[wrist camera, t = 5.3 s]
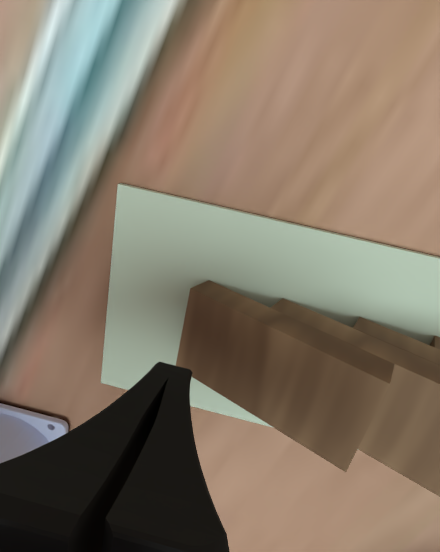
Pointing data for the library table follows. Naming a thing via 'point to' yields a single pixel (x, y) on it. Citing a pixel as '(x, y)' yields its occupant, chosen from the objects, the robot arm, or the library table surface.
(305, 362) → the tile
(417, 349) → the tile
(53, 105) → the library table surface
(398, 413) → the tile
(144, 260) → the mat
